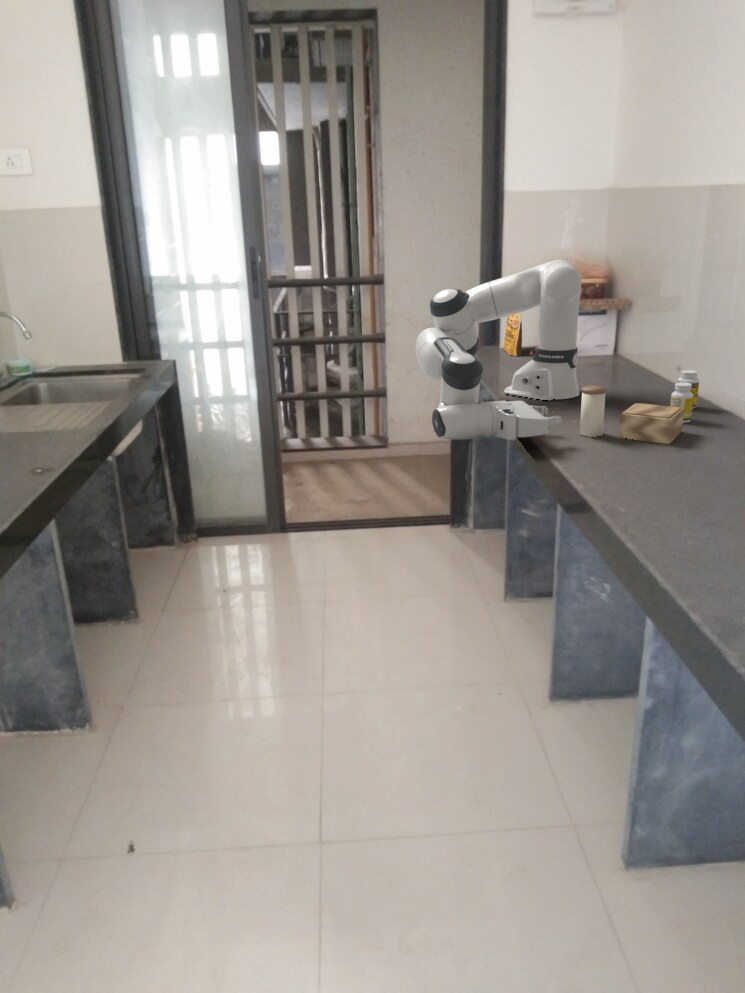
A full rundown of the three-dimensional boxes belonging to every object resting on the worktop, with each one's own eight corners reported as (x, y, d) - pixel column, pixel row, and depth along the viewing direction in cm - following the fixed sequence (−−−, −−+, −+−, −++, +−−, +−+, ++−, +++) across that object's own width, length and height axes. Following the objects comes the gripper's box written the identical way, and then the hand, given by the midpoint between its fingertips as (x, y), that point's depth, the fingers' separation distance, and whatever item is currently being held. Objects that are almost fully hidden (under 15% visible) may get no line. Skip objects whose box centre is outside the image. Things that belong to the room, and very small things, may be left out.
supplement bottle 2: (690, 418, 204) (694, 382, 201) (691, 424, 200) (695, 386, 196) (668, 417, 206) (672, 381, 203) (668, 423, 201) (672, 385, 198)
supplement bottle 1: (687, 411, 211) (691, 374, 207) (670, 407, 215) (674, 371, 212) (700, 408, 214) (704, 371, 210) (683, 404, 218) (686, 368, 215)
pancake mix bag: (517, 348, 310) (519, 275, 300) (528, 356, 292) (530, 280, 282) (500, 348, 310) (502, 276, 300) (510, 357, 292) (512, 281, 282)
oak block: (618, 437, 191) (620, 412, 189) (633, 425, 200) (635, 402, 198) (668, 444, 184) (671, 418, 182) (681, 431, 194) (684, 407, 191)
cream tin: (575, 435, 194) (578, 389, 190) (584, 430, 199) (586, 384, 194) (598, 438, 191) (601, 391, 187) (606, 432, 195) (609, 386, 191)
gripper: (487, 420, 201) (539, 416, 202) (511, 442, 182) (568, 438, 183) (487, 396, 198) (540, 392, 200) (512, 416, 179) (569, 412, 181)
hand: (553, 414), depth 191 cm, fingers open, 8 cm apart
